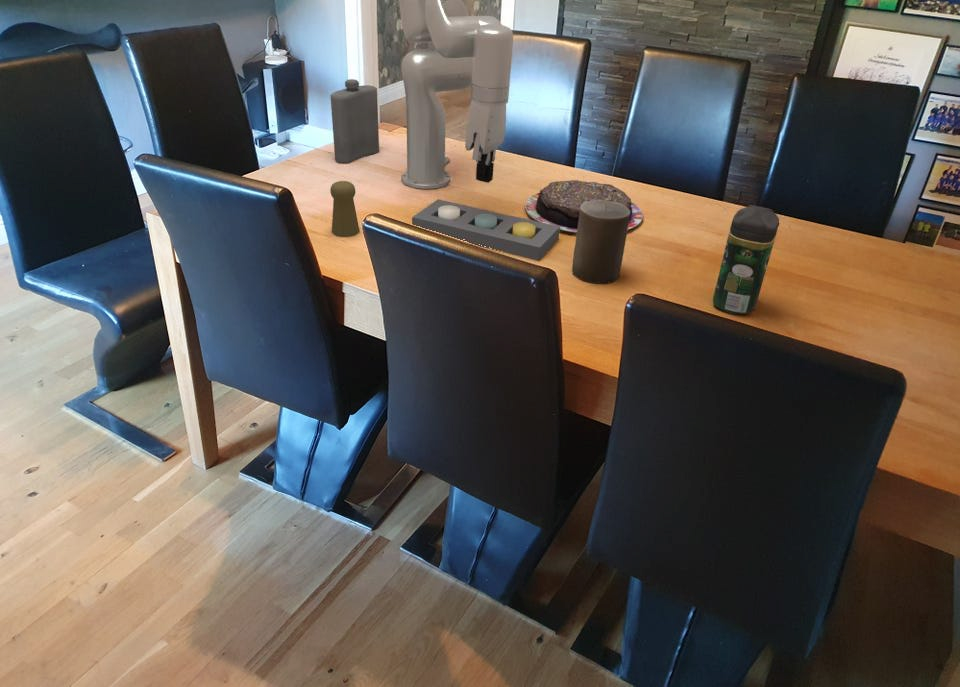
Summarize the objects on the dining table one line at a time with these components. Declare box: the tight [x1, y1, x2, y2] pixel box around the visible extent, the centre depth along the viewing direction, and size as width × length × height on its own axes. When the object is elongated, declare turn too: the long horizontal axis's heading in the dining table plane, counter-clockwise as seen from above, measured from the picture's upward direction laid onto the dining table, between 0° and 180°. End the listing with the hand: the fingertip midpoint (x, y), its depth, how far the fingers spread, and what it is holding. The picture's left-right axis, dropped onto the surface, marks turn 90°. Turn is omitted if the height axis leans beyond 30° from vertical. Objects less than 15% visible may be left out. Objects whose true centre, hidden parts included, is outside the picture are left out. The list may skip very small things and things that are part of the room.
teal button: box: [475, 214, 497, 230], centre depth 155 cm, size 5×5×3 cm
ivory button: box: [438, 205, 460, 221], centre depth 158 cm, size 5×5×3 cm
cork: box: [329, 180, 361, 238], centre depth 152 cm, size 6×6×11 cm
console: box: [411, 198, 561, 261], centre depth 156 cm, size 12×30×3 cm, turn 65°
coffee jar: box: [712, 204, 781, 315], centre depth 130 cm, size 10×8×19 cm
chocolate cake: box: [524, 179, 644, 236], centre depth 168 cm, size 28×28×7 cm
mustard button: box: [512, 222, 536, 239], centre depth 152 cm, size 5×5×3 cm
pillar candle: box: [571, 200, 630, 284], centre depth 140 cm, size 10×10×15 cm
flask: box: [329, 78, 380, 165], centre depth 191 cm, size 15×6×20 cm, turn 144°
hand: (484, 180), depth 152 cm, fingers closed
